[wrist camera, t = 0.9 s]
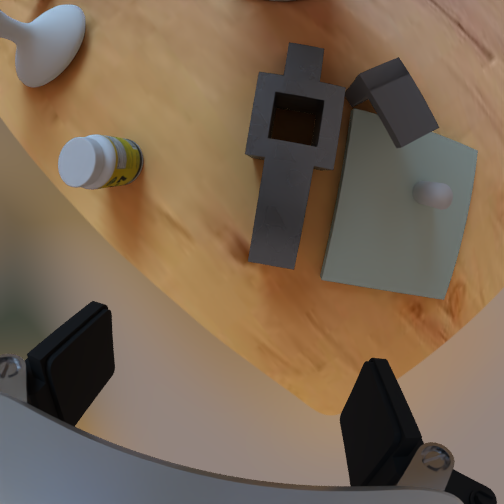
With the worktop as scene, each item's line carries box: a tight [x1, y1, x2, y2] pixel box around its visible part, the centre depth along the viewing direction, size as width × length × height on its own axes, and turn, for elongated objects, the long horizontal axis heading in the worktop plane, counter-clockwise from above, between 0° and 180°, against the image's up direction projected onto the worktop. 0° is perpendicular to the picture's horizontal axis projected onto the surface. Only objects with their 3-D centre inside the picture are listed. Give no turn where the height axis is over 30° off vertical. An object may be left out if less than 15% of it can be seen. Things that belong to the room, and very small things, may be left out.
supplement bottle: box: [58, 135, 143, 189], centre depth 24 cm, size 5×5×8 cm
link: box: [245, 43, 346, 270], centre depth 24 cm, size 18×6×6 cm, turn 170°
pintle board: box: [320, 57, 478, 300], centre depth 23 cm, size 20×15×6 cm
